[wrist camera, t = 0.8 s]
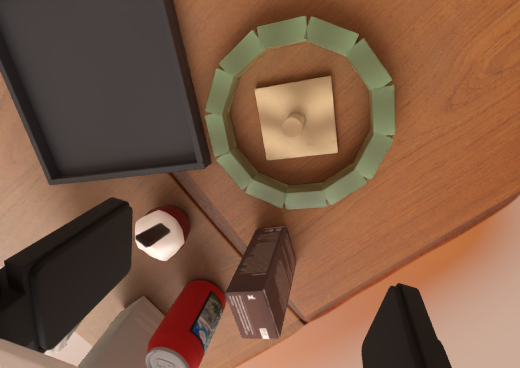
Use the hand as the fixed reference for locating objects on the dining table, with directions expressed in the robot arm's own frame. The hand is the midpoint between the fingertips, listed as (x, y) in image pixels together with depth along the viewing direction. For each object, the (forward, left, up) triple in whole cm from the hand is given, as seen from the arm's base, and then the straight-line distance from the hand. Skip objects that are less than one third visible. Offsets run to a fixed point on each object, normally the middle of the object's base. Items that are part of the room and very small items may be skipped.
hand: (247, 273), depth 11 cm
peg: (-1, -1, -25) cm, 25 cm away
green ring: (-1, -1, -25) cm, 25 cm away
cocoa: (+10, -19, -25) cm, 33 cm away
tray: (-9, -24, -25) cm, 36 cm away
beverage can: (+23, -18, -25) cm, 38 cm away
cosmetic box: (+28, -29, -25) cm, 47 cm away
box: (+15, -6, -25) cm, 30 cm away
